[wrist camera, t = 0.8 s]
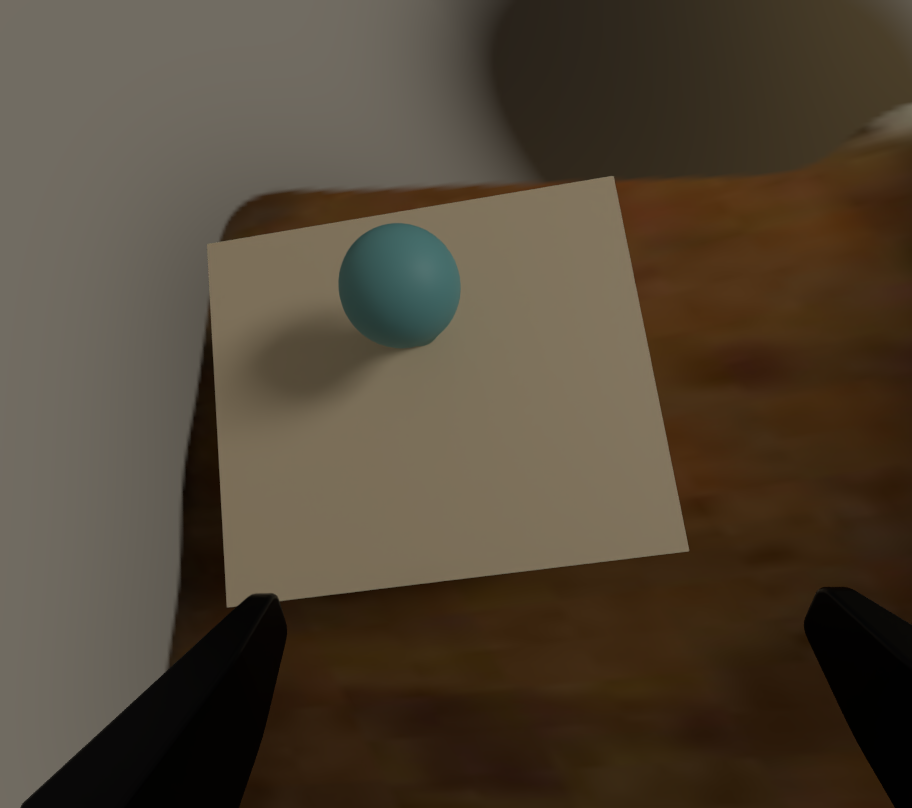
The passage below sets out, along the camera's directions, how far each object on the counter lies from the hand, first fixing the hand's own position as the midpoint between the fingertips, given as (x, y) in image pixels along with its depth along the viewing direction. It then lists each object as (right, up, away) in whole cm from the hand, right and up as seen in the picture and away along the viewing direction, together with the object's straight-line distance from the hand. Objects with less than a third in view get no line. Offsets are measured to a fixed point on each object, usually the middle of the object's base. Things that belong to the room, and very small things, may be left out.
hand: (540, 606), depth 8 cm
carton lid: (-2, +4, +8) cm, 9 cm away
